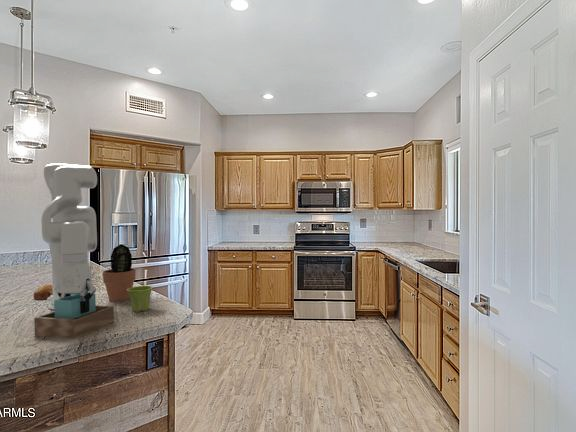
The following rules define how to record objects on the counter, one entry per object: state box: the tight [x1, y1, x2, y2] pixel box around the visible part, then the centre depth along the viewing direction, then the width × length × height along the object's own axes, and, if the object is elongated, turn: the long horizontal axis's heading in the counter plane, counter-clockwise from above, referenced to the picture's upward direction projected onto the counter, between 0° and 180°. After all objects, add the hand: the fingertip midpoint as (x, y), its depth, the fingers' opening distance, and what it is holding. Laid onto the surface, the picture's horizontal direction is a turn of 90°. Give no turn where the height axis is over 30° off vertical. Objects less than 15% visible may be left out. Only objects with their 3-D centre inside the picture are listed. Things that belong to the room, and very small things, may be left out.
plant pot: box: [127, 285, 153, 313], centre depth 137 cm, size 9×9×9 cm
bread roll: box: [33, 284, 53, 301], centre depth 162 cm, size 10×10×8 cm
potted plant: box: [102, 243, 137, 303], centre depth 155 cm, size 14×14×25 cm
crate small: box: [53, 293, 97, 319], centre depth 115 cm, size 7×10×6 cm, turn 167°
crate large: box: [33, 305, 115, 340], centre depth 115 cm, size 16×16×6 cm
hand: (76, 311), depth 115 cm, fingers closed on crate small, 6 cm apart
